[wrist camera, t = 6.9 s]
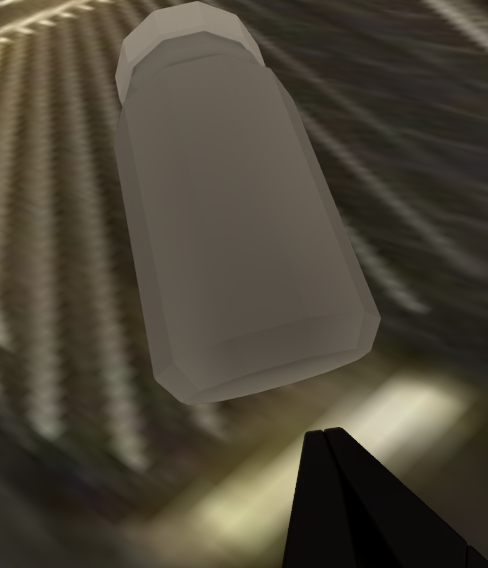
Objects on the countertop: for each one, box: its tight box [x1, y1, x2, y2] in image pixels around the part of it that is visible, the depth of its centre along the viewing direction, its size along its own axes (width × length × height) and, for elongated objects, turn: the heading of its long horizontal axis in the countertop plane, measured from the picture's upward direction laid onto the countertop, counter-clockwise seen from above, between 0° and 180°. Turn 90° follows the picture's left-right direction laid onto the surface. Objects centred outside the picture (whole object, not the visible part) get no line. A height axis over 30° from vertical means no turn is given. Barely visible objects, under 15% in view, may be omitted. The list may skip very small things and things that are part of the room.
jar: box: [114, 1, 381, 405], centre depth 19 cm, size 10×10×18 cm
